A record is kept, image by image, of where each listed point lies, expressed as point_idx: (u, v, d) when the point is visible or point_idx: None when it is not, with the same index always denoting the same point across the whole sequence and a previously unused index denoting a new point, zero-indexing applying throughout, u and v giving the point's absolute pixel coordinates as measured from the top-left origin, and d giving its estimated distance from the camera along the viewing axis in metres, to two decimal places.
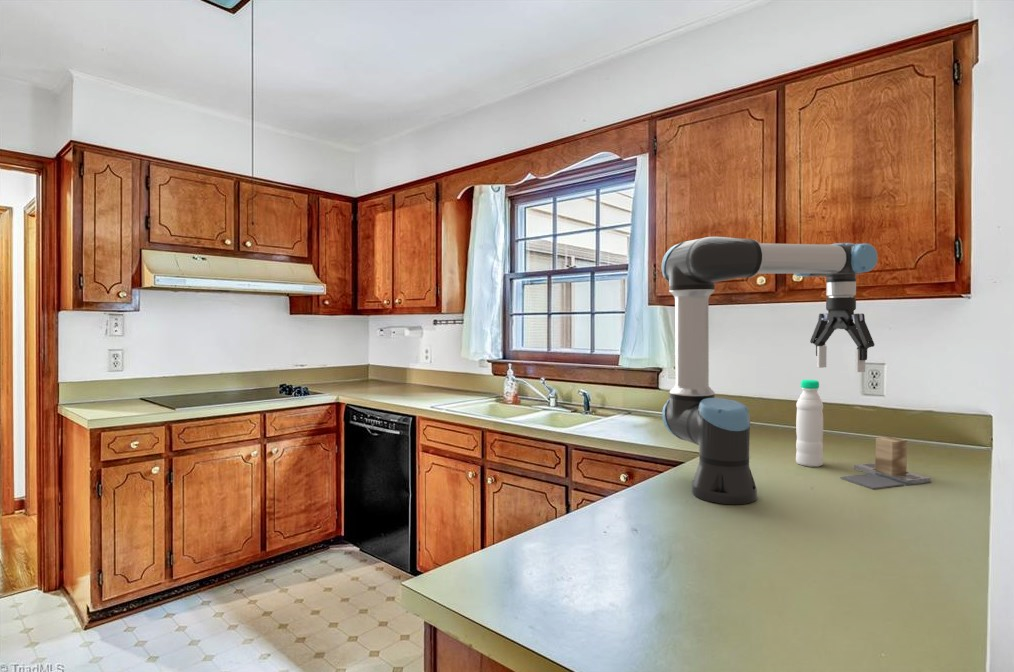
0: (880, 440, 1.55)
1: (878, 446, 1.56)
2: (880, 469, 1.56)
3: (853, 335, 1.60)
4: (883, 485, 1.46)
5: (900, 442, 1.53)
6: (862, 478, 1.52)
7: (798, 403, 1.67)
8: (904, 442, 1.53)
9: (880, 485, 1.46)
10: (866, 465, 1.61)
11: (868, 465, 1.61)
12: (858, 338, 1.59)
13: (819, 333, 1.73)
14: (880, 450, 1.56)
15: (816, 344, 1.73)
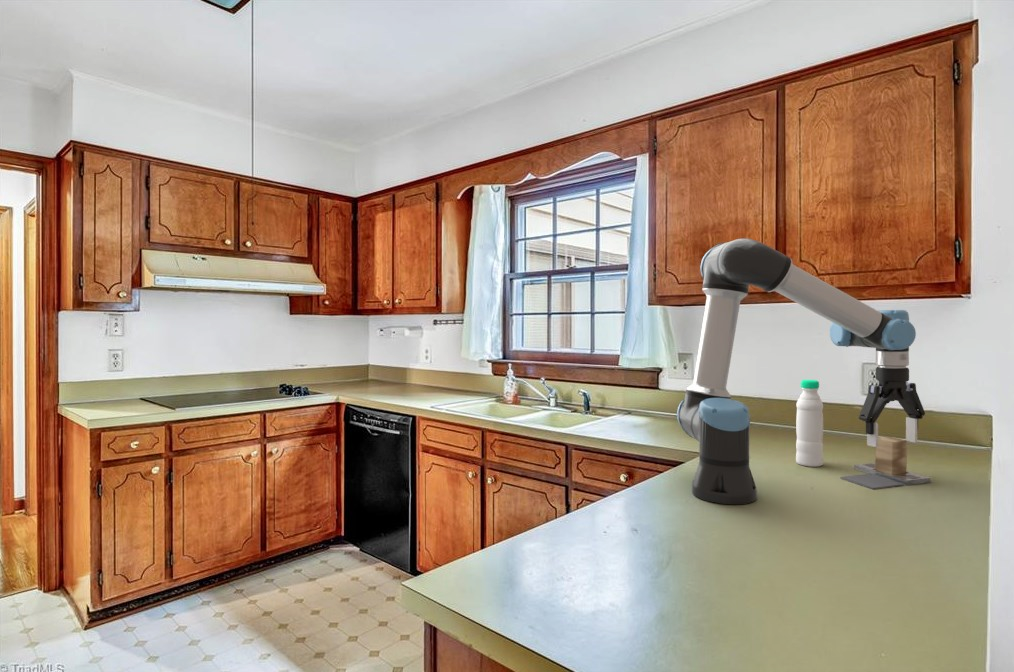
0: (880, 440, 1.55)
1: (878, 446, 1.56)
2: (880, 469, 1.56)
3: None
4: (883, 485, 1.46)
5: (900, 442, 1.53)
6: (862, 478, 1.52)
7: (798, 403, 1.67)
8: (904, 442, 1.53)
9: (880, 485, 1.46)
10: (866, 465, 1.61)
11: (868, 465, 1.61)
12: None
13: (913, 404, 1.57)
14: (880, 450, 1.56)
15: None
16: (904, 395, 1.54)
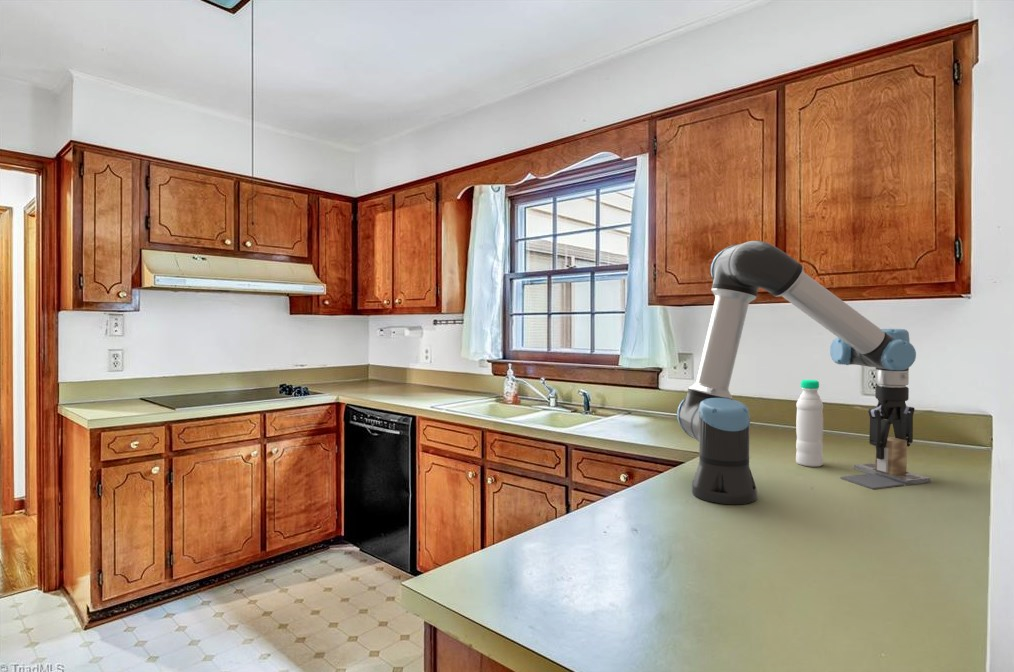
0: None
1: None
2: None
3: None
4: (883, 485, 1.46)
5: (900, 442, 1.53)
6: (862, 478, 1.52)
7: (798, 403, 1.67)
8: (904, 442, 1.53)
9: (880, 485, 1.46)
10: (866, 465, 1.61)
11: (868, 465, 1.61)
12: None
13: (904, 429, 1.56)
14: None
15: None
16: (901, 415, 1.54)
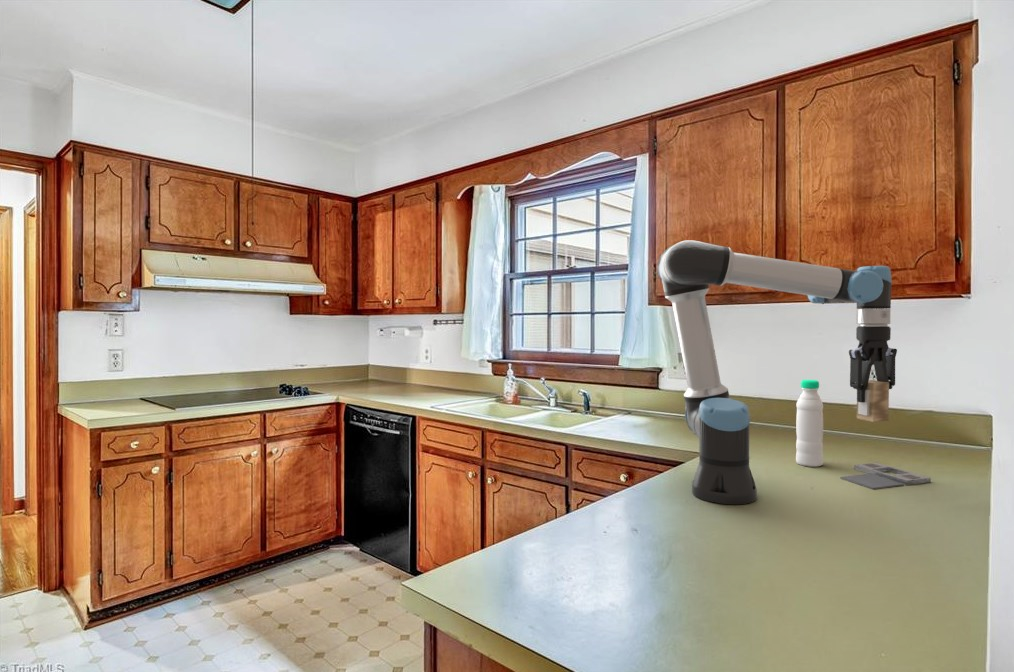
0: None
1: None
2: None
3: None
4: (883, 485, 1.46)
5: (882, 384, 1.47)
6: (862, 478, 1.52)
7: (798, 403, 1.67)
8: (886, 384, 1.47)
9: (880, 485, 1.46)
10: (866, 465, 1.61)
11: (868, 465, 1.61)
12: None
13: (887, 371, 1.50)
14: None
15: None
16: (883, 356, 1.47)
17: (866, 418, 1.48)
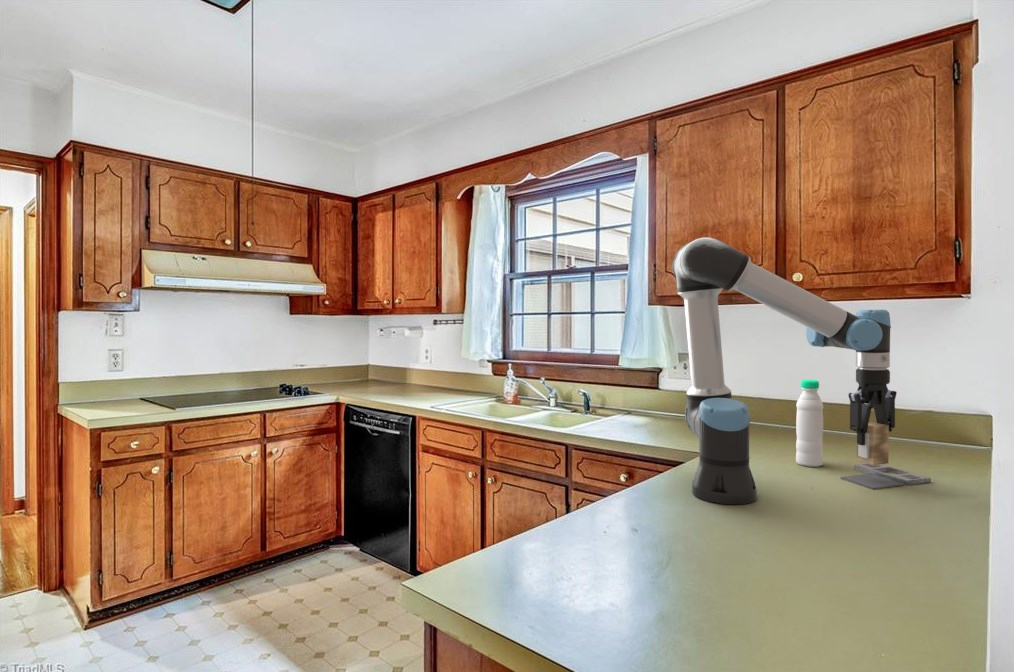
0: None
1: None
2: None
3: None
4: (883, 485, 1.46)
5: (882, 427, 1.47)
6: (862, 478, 1.52)
7: (798, 403, 1.67)
8: (886, 427, 1.47)
9: (880, 485, 1.46)
10: (866, 465, 1.61)
11: (868, 465, 1.61)
12: None
13: (886, 413, 1.51)
14: None
15: None
16: (882, 399, 1.48)
17: (866, 461, 1.49)
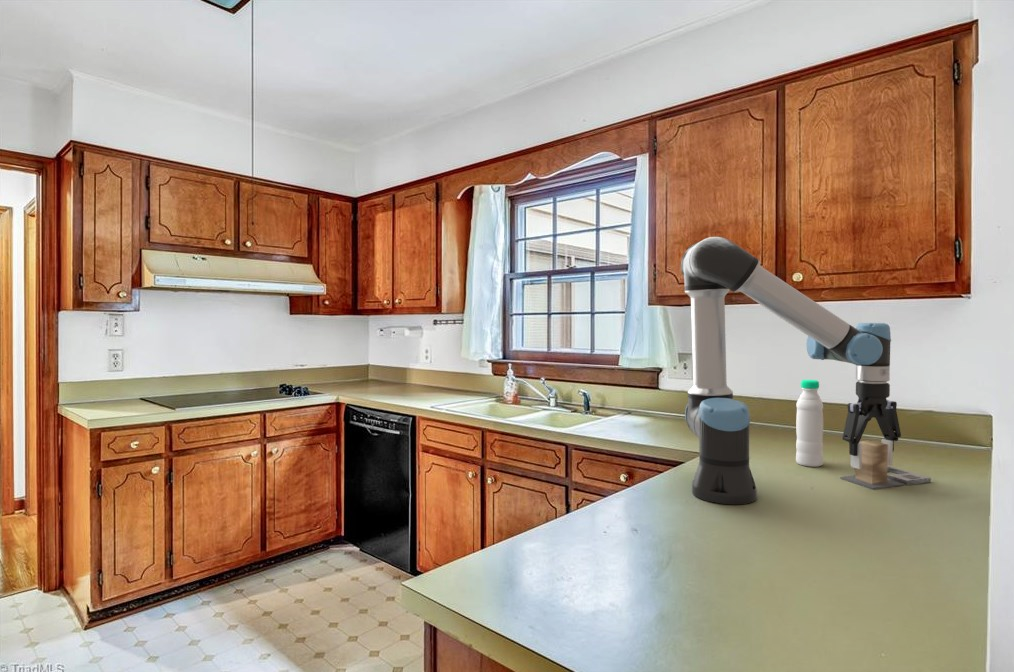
0: None
1: None
2: (860, 474, 1.50)
3: None
4: (883, 485, 1.46)
5: (881, 446, 1.47)
6: None
7: (798, 403, 1.67)
8: (885, 446, 1.48)
9: (880, 485, 1.46)
10: None
11: None
12: None
13: (890, 424, 1.51)
14: None
15: None
16: (883, 412, 1.48)
17: (865, 479, 1.49)
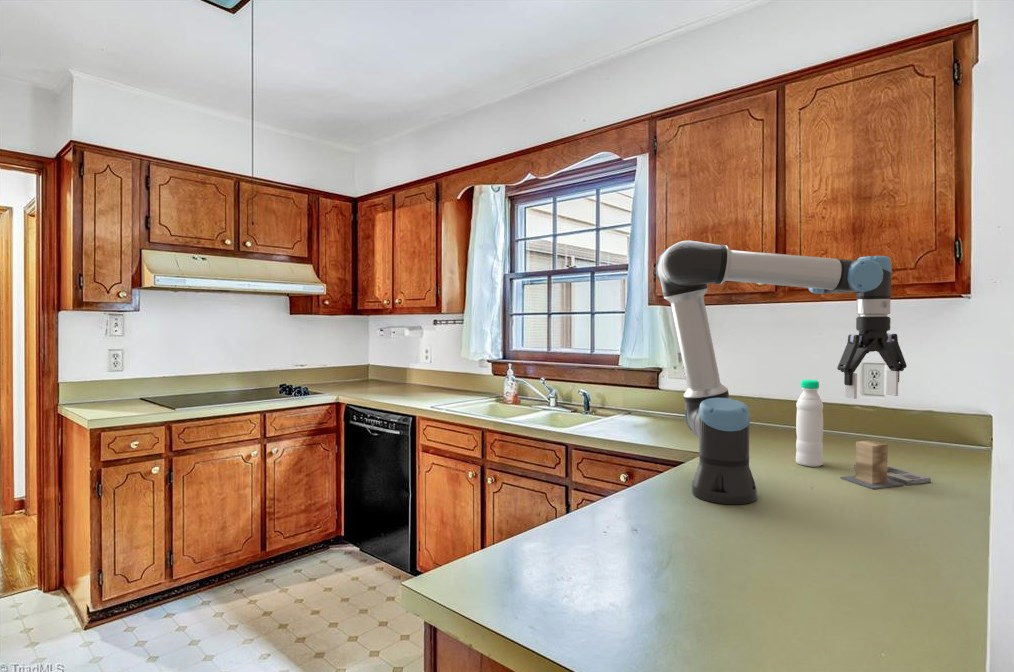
0: (860, 444, 1.50)
1: (858, 450, 1.51)
2: (860, 474, 1.50)
3: None
4: (883, 485, 1.46)
5: (881, 446, 1.47)
6: None
7: (798, 403, 1.67)
8: (885, 446, 1.48)
9: (880, 485, 1.46)
10: None
11: None
12: None
13: (894, 356, 1.51)
14: (860, 454, 1.50)
15: None
16: (885, 345, 1.47)
17: (865, 479, 1.49)
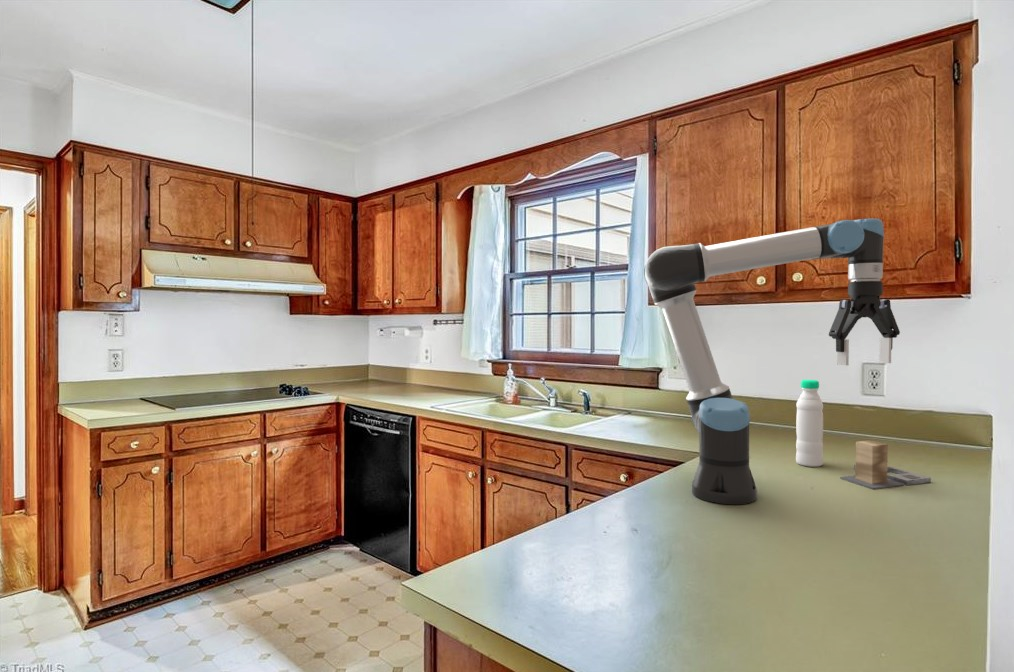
0: (860, 444, 1.50)
1: (858, 450, 1.51)
2: (860, 474, 1.50)
3: None
4: (883, 485, 1.46)
5: (881, 446, 1.47)
6: None
7: (798, 403, 1.67)
8: (885, 446, 1.48)
9: (880, 485, 1.46)
10: None
11: None
12: None
13: (887, 322, 1.47)
14: (860, 454, 1.50)
15: None
16: (877, 311, 1.44)
17: (865, 479, 1.49)
